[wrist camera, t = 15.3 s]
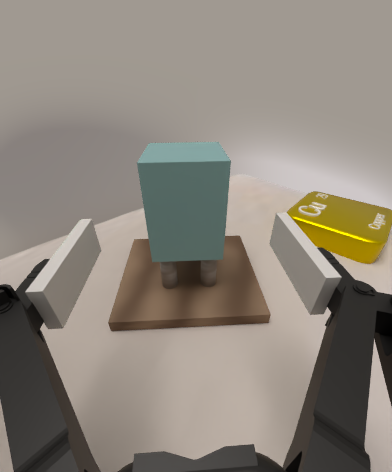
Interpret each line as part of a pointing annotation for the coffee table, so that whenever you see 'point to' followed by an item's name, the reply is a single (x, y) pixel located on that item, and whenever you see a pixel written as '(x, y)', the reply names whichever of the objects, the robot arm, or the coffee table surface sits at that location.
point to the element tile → (343, 225)
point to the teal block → (185, 199)
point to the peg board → (188, 291)
